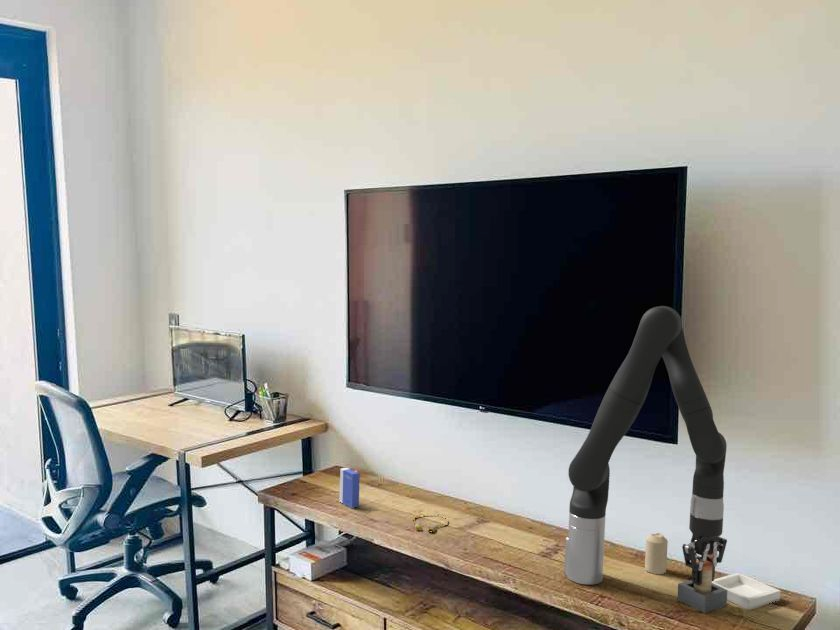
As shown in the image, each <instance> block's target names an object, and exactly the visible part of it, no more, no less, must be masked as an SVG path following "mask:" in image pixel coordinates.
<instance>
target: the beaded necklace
mask: <svg viewBox="0 0 840 630" xmlns="http://www.w3.org/2000/svg"><path fill="white" fill-rule="evenodd" d="M420 515H423V514H419V515H416V516H415V517H413V519H414V522H415V523H414V522H413V523H414V526H415V527H414V528H415V530H416V532H422V531H421V530H423V527H422V526H421V524H420V523H418V522H417V521H416V519H415V518H416V517H418V516H419V517H421V516H420ZM439 515H440V514H438V515H437V516H439ZM423 516H424V515H423ZM443 525H444V524H442V525H441V526H443ZM438 526H439V525H435V524H432V525H430V526H429V527H430V528H428V534H431V533H432V532H433V533H435V532H436V530H437V529H439V528H438ZM418 530H420V531H418ZM430 531H432V532H431V533H430Z"/></svg>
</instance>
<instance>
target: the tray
mask: <svg viewBox="0 0 840 630" xmlns="http://www.w3.org/2000/svg"><path fill="white" fill-rule="evenodd" d="M712 583H713V584H715V585H717V586H720V587H722V588H724V589H726V590H727V602H730V603H732V602H733V604H734V603H735V605H736V604H737V605H736V606H739V607H740V608H743V609H745V610H748V611H751V610H755V609H757V608H761V607H764V606H766V604H767V605H770V604H773V603H776V602H779V601H781V590H780V589H778V588H776V587H773V586H771V585H768V584H766V583H764V582H760V580H759V581H758V580H756V579H754V578H751V577H749V576H746V575H744V574H742V573H740V572H735V573H732V574H728V575H724V576H721V577H718V578H714V581H712ZM775 601H776V602H775ZM772 602H773V603H772ZM769 603H770V604H769ZM763 605H764V606H763Z"/></svg>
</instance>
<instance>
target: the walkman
mask: <svg viewBox="0 0 840 630" xmlns="http://www.w3.org/2000/svg"><path fill="white" fill-rule="evenodd" d="M358 471H359V470H353V469H351V468H349V467H344V468H340V474H339V497H338V498H339V499H338V501H339V502H341V503H343V504H345V505H347V506H349V507H348V508H350V507H351V508H350V509H352V508H353V507H358V506H359V507H360V481H361V479H360V478H361V476H360V474H361V473H360V472H358ZM341 503H340V504H341ZM343 504H342V505H343ZM345 505H344V506H345ZM347 506H346V507H347ZM359 507H358V508H359ZM353 509H354V508H353Z"/></svg>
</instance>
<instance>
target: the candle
mask: <svg viewBox="0 0 840 630" xmlns="http://www.w3.org/2000/svg"><path fill="white" fill-rule="evenodd" d="M645 539H646V540H645V556H644V557H645V560H644V570H645V571H646V570H647V571H648V572H647V571H646V572H647V573H649V572H650V574H652V573H653V574H652V575H664V573H665V574H666V573H667V562H668V561H667V560H668V545H669V543H668V542H669V541H668V539H667V538H666V537H665V536H664V535H663V533H661V532H660V533H659V532H656V533H654V534H653V533H652V534H649V535H648V536H647V537H646V538H645Z"/></svg>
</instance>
